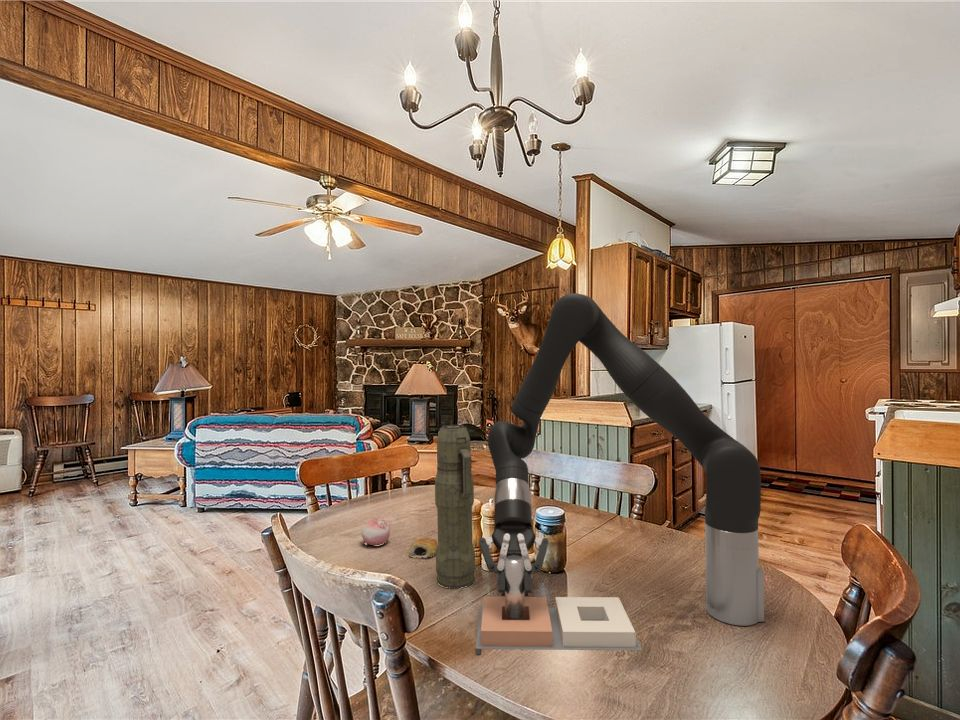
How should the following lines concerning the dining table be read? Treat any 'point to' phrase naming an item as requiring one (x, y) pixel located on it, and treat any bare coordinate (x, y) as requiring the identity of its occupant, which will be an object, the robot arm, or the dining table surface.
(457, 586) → the thermos
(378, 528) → the onion
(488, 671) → the dining table surface
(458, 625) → the dining table surface
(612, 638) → the dock board
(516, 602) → the steel pin
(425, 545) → the pastry
